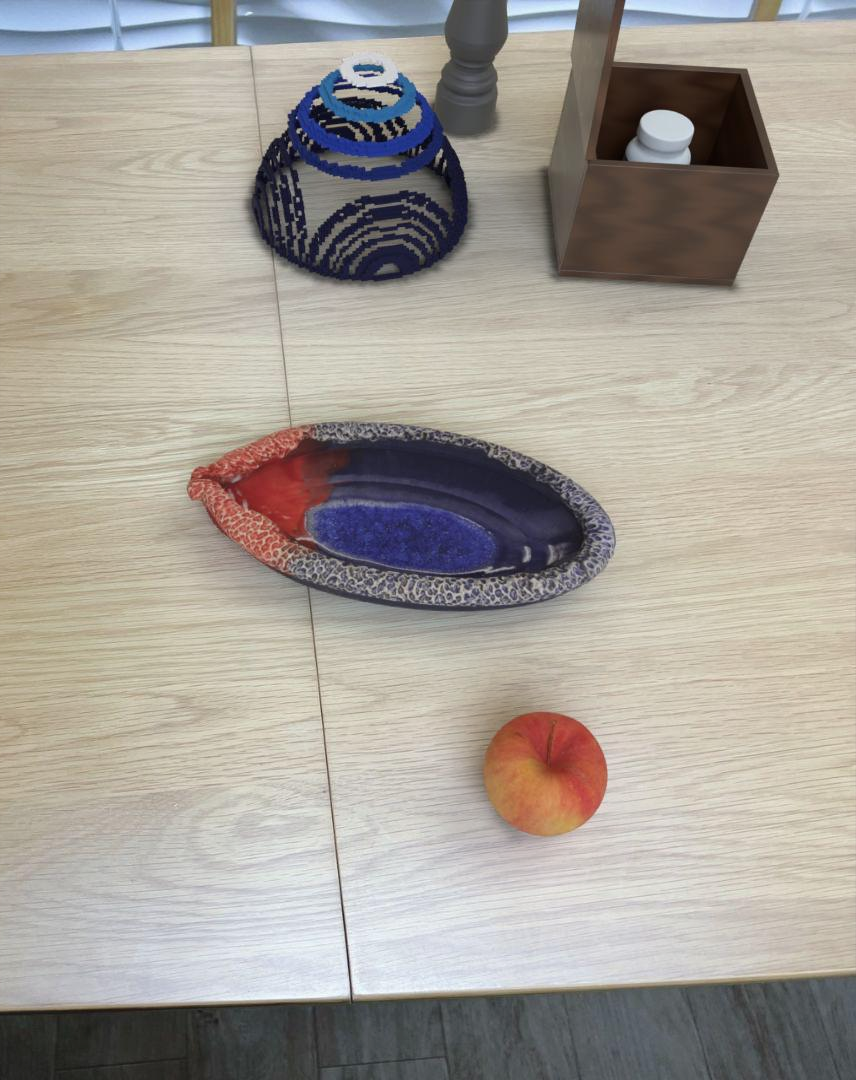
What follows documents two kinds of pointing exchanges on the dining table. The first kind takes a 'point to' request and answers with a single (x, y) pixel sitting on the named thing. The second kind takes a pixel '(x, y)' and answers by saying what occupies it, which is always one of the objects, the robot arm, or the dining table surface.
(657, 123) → the pill bottle
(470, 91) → the candle holder
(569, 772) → the apple
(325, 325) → the dining table surface
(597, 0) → the lid
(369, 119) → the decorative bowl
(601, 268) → the chest
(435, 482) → the dish
